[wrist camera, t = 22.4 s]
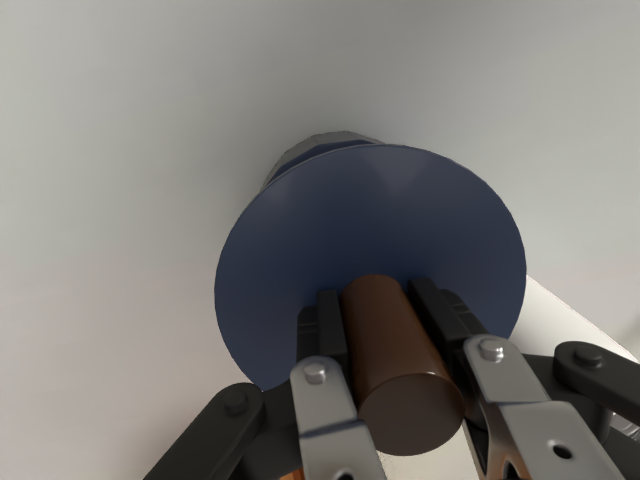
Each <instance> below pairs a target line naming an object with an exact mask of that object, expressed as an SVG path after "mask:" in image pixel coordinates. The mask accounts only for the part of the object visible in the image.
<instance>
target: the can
mask: <svg viewBox="0 0 640 480" xmlns="http://www.w3.org/2000/svg"><path fill="white" fill-rule="evenodd" d="M508 340H509V341H510V342H512V343H513V344H514V345H515V346H516V347H517V348H518V349H519V351H520V352H521V353H524V354H531V355H542V356H553V357H554V351H555V348H556V346H557V345H558V344H560V343H562V342H566V341H582V342H587V343H592V344H595V345H598V346H600V347H603V348H605V349H607V350H609V351H612V352H614V353H616V354H618V355H620V356H623V357H625V358H627V359H629V360H631V361H634V362H636V363H638V364H639V362H638V361H637V360H636V359H635V358H634V357H633V356H632V355H631V354H630V353H629V352H628V351H627V350H625V349H624V348H623V347H622V346H620V345H619V344H618V343H617V342H615V341H614V340H613V339H611V338H610V337H609V336H607V335H606V334H605V333H604V332H602V331H601V330H600V329H598V328H597V327H596V326H594V325H593V324H592V323H590V322H589V321H588V320H586V319H585V318H584V317H582V316H581V315H580V314H578V313H577V312H576V311H574V310H573V309H572V308H571V307H569V306H568V305H567V304H565V303H564V302H563V301H561V300H560V299H559V298H557V297H556V296H555V295H553V294H552V293H551V292H549V291H548V290H547V289H545V288H544V287H543V286H541V285H540V284H539V283H537V282H536V281H534V280H533V279H532V278H530V277H529V276H528V275H526V289H525V295H524V301H523V305H522V308H521V311H520V315H519V318H518V321H517V323H516V325H515V327H514V329H513V331H512V334H511V336H510V337H509V339H508ZM610 426H612V427H613V428H615V429H617V430H618V431H620V432H622V433H623V434H625V435H627V436H628V437H630V438H632V439H633V440H635V441H637V442H638V443H640V427H638V426H637V425H635V424H633V423H631V422H630V421H628V420H626V419H624V418H623V417H621V416H619V415H617V414H616V413H614V412H613V416H612V421H611V425H610Z"/></svg>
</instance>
